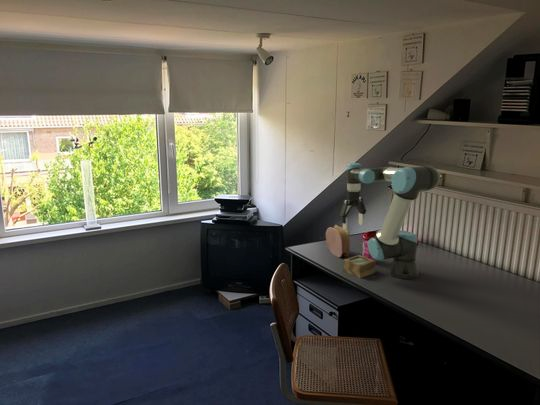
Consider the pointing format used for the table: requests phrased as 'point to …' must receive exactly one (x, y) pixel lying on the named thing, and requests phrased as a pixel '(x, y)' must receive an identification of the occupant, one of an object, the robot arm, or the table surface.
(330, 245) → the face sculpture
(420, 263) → the table surface
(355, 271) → the frame
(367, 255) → the supplement box
